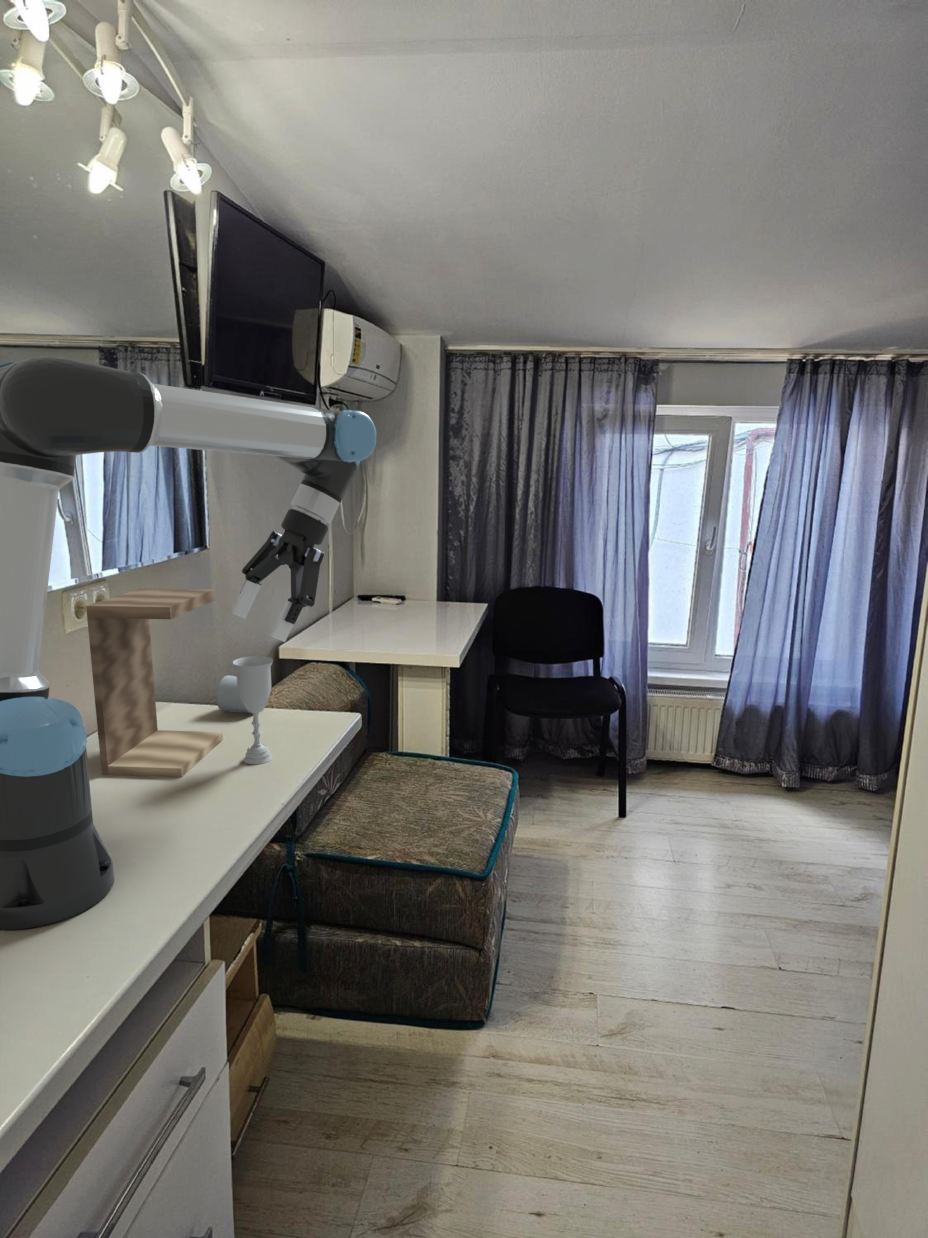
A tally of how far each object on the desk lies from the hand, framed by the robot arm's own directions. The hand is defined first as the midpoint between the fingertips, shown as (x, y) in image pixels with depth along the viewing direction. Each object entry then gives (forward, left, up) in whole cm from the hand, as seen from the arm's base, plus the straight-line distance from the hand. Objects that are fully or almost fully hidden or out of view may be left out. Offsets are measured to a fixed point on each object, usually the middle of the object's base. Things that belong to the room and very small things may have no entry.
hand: (257, 627), depth 132 cm
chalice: (-1, +1, -24) cm, 24 cm away
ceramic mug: (+17, +26, -24) cm, 39 cm away
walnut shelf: (-9, +16, -24) cm, 30 cm away
